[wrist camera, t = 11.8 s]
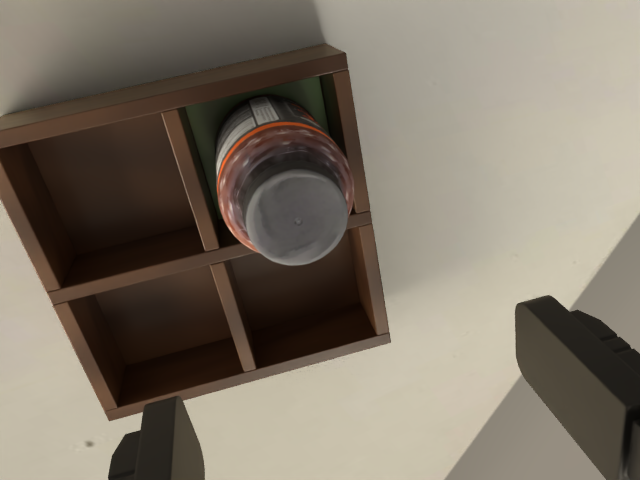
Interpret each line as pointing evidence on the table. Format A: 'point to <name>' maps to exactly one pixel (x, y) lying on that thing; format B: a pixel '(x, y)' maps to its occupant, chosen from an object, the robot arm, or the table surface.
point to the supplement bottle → (281, 180)
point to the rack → (183, 235)
